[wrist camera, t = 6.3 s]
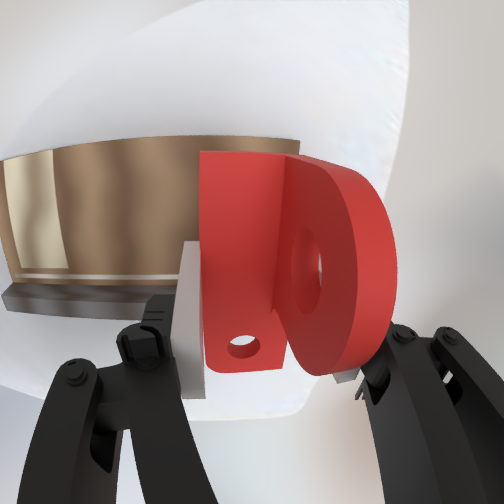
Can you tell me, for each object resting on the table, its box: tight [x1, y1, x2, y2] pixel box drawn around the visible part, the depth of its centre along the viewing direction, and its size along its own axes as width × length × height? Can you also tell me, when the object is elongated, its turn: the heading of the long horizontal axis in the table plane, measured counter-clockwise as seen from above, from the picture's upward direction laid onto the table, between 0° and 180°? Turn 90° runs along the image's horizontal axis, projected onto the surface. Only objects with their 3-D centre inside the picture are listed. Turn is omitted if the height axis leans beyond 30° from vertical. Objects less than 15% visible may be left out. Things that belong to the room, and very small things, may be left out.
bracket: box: [199, 151, 397, 376], centre depth 10 cm, size 12×4×8 cm, turn 177°
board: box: [0, 136, 300, 320], centre depth 23 cm, size 32×16×5 cm, turn 87°
